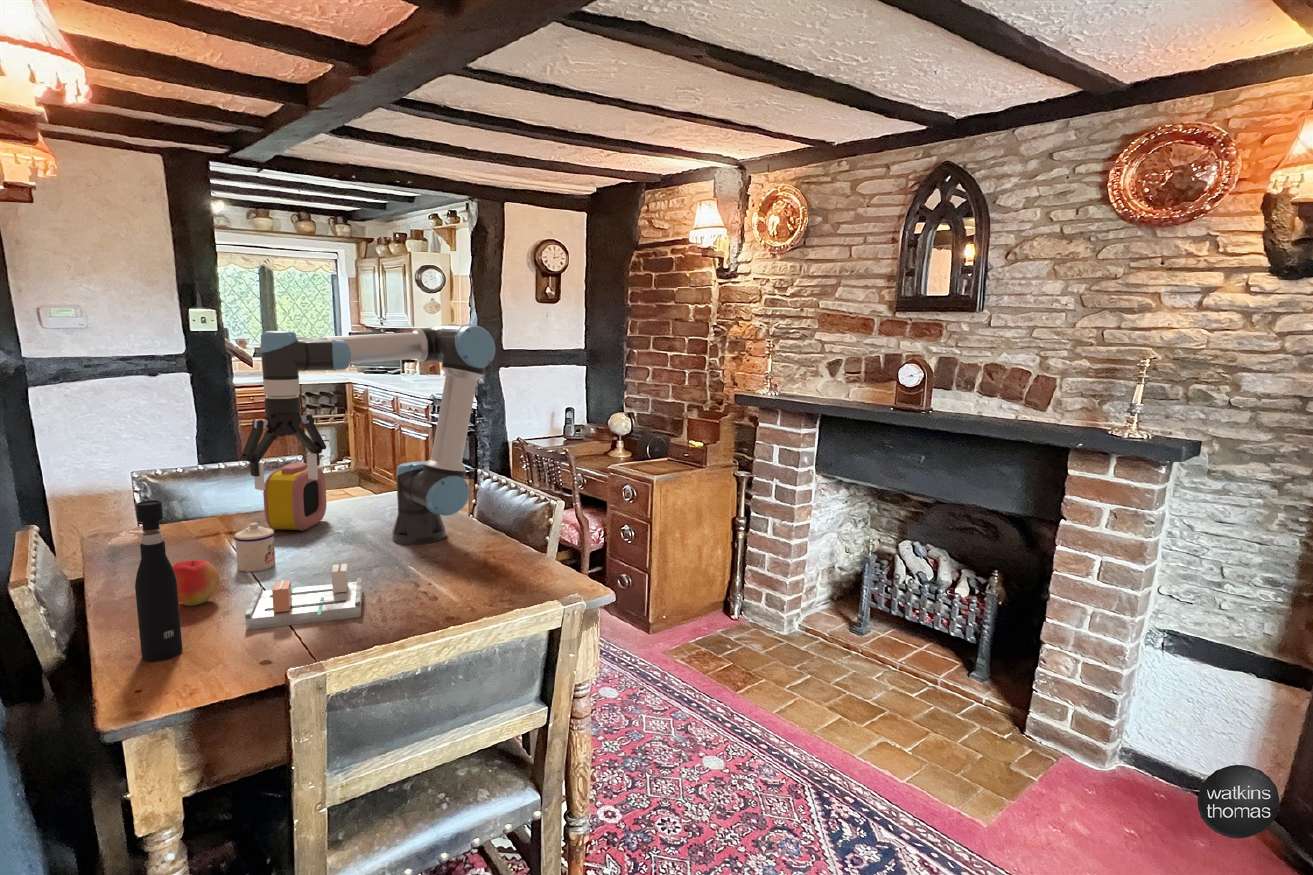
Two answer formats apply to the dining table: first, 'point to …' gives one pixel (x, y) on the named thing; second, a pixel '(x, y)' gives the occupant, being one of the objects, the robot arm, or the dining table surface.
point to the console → (305, 606)
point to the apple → (195, 581)
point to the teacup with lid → (255, 548)
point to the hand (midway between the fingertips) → (287, 484)
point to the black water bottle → (156, 590)
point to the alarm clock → (294, 498)
